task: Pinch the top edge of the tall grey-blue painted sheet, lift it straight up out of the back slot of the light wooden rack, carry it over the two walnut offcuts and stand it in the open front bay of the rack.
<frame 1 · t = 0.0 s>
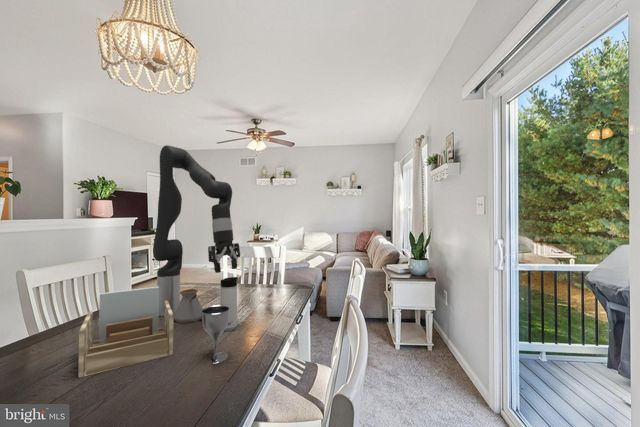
hand: (226, 270, 109), 22 cm above the table, tool pointing down, fingers open, 8 cm apart
offcut 1: (130, 349, 87), point 1 cm above the table, touching rack
rack: (129, 359, 84), on the table
wine glass: (215, 358, 85), on the table
travel mug: (229, 328, 108), on the table
tall sheet: (130, 345, 90), point 1 cm above the table, touching rack
offcut 2: (129, 354, 85), point 1 cm above the table, touching rack
coffee pot: (190, 326, 111), on the table
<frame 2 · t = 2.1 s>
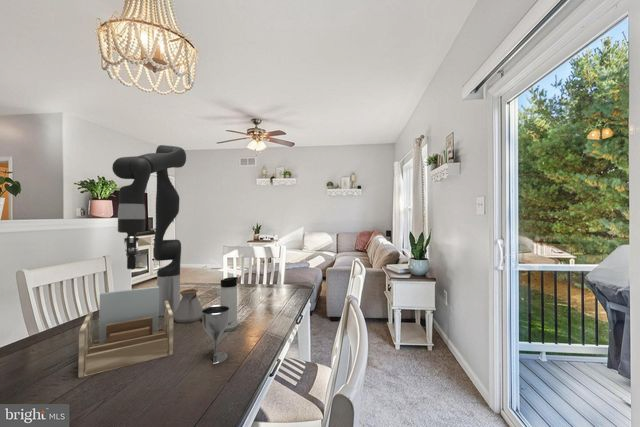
hand: (131, 266, 91), 27 cm above the table, tool pointing down, fingers open, 8 cm apart
nothing on the table moved.
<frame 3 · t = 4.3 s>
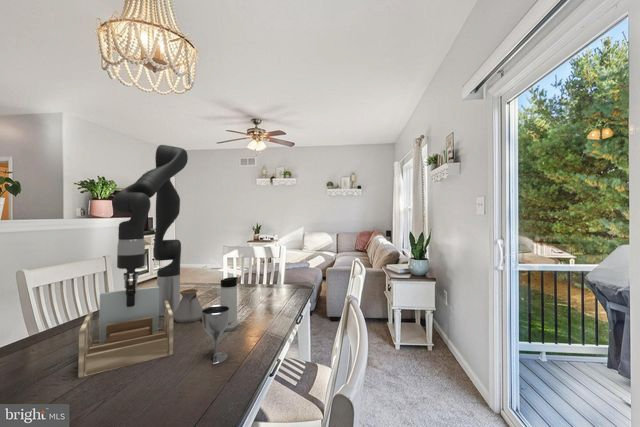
hand: (130, 305, 91), 15 cm above the table, tool pointing down, fingers closed on tall sheet, 1 cm apart
tall sheet: (130, 345, 90), point 2 cm above the table, touching gripper
everything else where it was.
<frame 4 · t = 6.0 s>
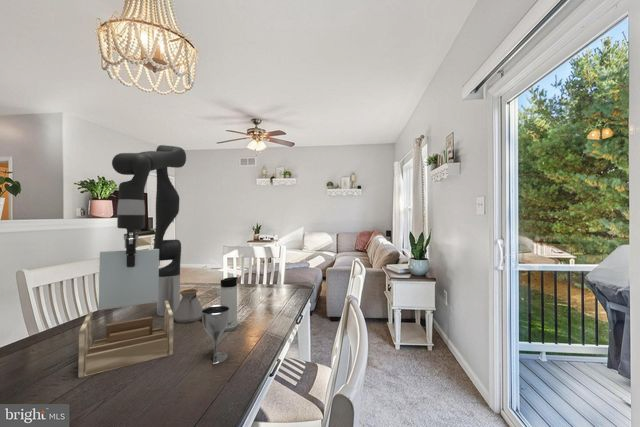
hand: (130, 266, 91), 27 cm above the table, tool pointing down, fingers closed on tall sheet, 1 cm apart
tall sheet: (129, 305, 91), point 15 cm above the table, touching gripper
everything else where it was.
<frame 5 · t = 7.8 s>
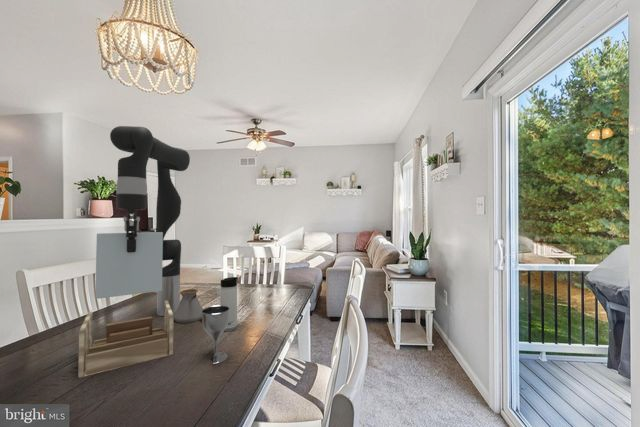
hand: (131, 251, 82), 33 cm above the table, tool pointing down, fingers closed on tall sheet, 1 cm apart
tall sheet: (130, 293, 81), point 21 cm above the table, touching gripper
everything else where it was.
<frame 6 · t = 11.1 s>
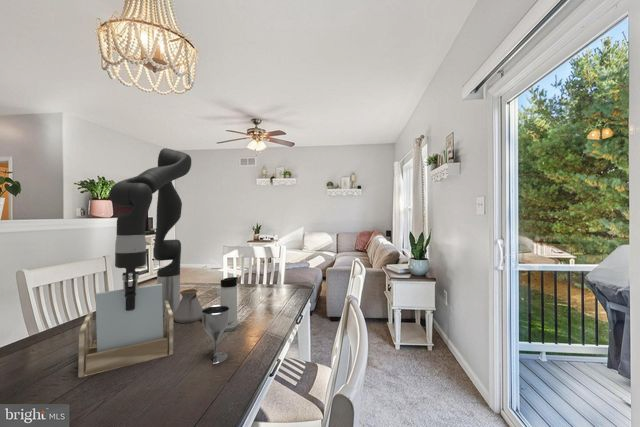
hand: (130, 308, 81), 16 cm above the table, tool pointing down, fingers closed on tall sheet, 1 cm apart
tall sheet: (132, 349, 81), point 4 cm above the table, touching gripper
everything else where it was.
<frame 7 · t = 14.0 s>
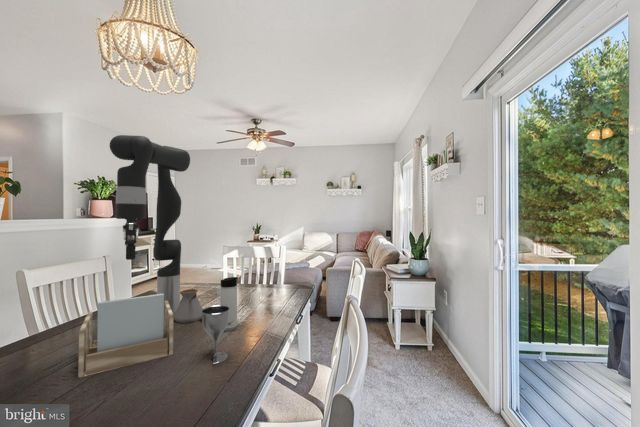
hand: (130, 257, 81), 32 cm above the table, tool pointing down, fingers open, 8 cm apart
tall sheet: (131, 359, 81), point 1 cm above the table, touching rack
everything else where it was.
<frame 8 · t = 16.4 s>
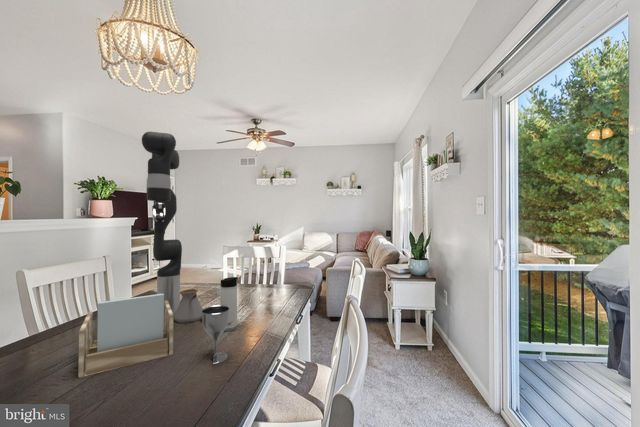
hand: (158, 232, 99), 38 cm above the table, tool pointing down, fingers open, 8 cm apart
nothing on the table moved.
at the end: tall sheet inside the target area on the rack (0.6 cm from its centre), point 1.5 cm above the rack's base; tall sheet tilted 0°; offcut 1 moved 0.0 cm from its start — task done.
